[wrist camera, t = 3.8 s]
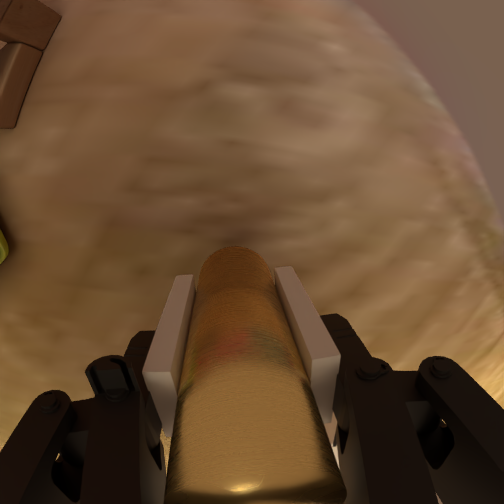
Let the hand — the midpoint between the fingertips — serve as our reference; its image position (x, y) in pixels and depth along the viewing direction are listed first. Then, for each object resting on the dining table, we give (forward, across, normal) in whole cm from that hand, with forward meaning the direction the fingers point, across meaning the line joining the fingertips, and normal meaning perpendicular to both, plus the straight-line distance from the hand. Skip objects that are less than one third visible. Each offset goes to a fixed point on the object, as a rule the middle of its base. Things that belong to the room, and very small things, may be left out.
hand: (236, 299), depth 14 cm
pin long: (+2, 0, 0) cm, 2 cm away
